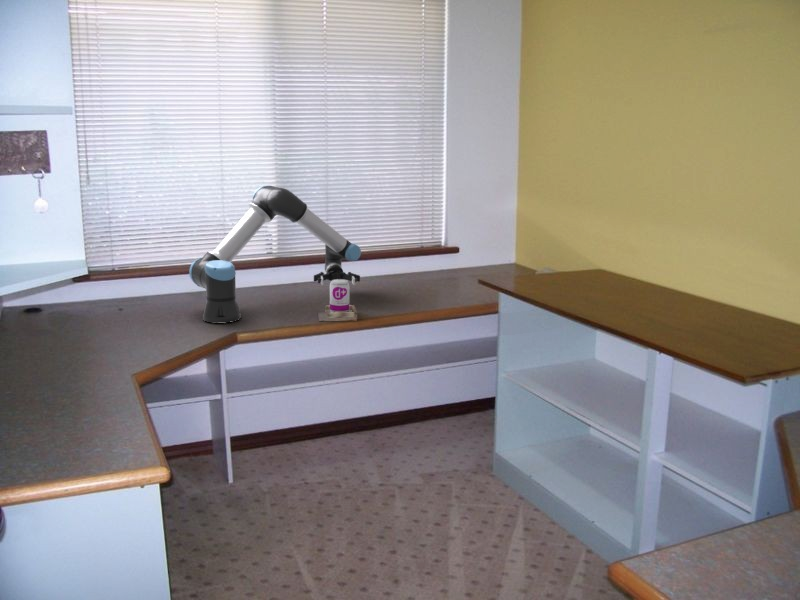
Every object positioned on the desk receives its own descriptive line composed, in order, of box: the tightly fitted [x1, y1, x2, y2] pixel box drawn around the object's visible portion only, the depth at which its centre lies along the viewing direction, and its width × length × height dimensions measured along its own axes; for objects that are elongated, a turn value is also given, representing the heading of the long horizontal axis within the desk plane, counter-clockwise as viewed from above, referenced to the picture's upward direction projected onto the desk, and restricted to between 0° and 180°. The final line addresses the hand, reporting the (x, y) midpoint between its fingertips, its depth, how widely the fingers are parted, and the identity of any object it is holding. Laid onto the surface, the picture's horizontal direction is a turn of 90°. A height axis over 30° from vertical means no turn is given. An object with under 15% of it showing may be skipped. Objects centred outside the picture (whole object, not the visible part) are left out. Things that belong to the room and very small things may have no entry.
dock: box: [324, 304, 358, 318], centre depth 315 cm, size 16×15×3 cm
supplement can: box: [329, 279, 351, 313], centre depth 314 cm, size 8×8×15 cm
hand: (338, 282), depth 322 cm, fingers open, 13 cm apart
